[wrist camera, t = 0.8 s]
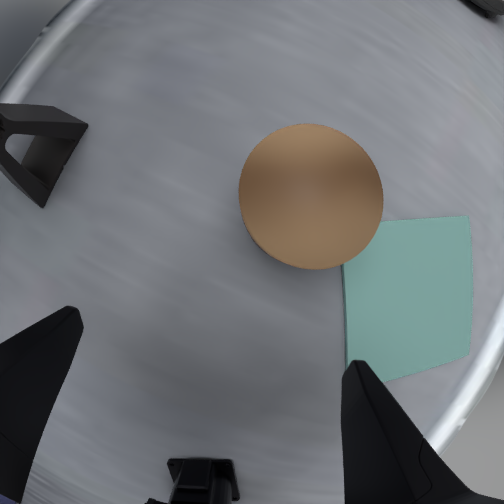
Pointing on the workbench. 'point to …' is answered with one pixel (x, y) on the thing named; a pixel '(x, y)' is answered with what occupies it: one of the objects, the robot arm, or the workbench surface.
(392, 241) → the rubber mat
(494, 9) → the motorcycle dashboard
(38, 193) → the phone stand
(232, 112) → the workbench surface
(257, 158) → the walnut stool
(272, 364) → the workbench surface
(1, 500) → the rubber mallet
